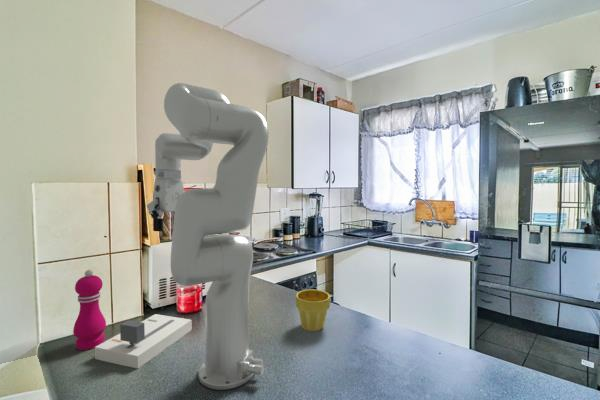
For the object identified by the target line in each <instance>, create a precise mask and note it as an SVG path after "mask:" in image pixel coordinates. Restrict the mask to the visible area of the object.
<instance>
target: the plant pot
mask: <svg viewBox="0 0 600 400" xmlns="http://www.w3.org/2000/svg"><path fill="white" fill-rule="evenodd" d="M330 305H331V295H330V293H329V292H327V291H325V290H321V289H304V290H299V291H298V292H297V293H296V295H295V307H296V308H297V310H298V314H299V321H300V324H301V327H302V329H303V328H304V329H303V330H305V331H307V330H309V331H308V332H318V331H317V330H319V331H321V330H322V329H323V328H324V325H325V321H326V316H327V312H328V310H329V309H330ZM320 329H321V330H320Z"/></svg>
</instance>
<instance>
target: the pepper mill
mask: <svg viewBox="0 0 600 400" xmlns="http://www.w3.org/2000/svg"><path fill="white" fill-rule="evenodd" d="M102 288H103V280H102V279H101V277H100V276H98V275H94V273H93V270H91V269H88V270H85V272H84V276H82V277H80V278H79V279H78V280H77V281H76V283H75V285H74V290H75V293H77V295H78V296H77V302H78V303H79V312H78V315H77V318H76V320H75V322H74V324H73V331H72V332H73V336H74V337H76V340H75V348H76V349H77V350H80V351H86V350H91V349H95V347H96V346H98V345H100V344H101V343H103V342H105V333H104V331H105V330H106V328H107V321H106V318H105V316H104V315H103V312H102V311H101V309H100V303H99V301H100V299H101V298H102V297H101V294H102V293H101V292H100V291H101V290H102Z"/></svg>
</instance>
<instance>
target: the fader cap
mask: <svg viewBox="0 0 600 400" xmlns="http://www.w3.org/2000/svg"><path fill="white" fill-rule="evenodd" d="M119 330H120V333H119V334H120V336H121V340H122V341H127V342H129V344H132V345H133V344H135V343H138V342H140V341H142V340H143V339H145V330H144V323H142V321H136V320H130V319H128V320H126V321H124V322H123V323H120V326H119Z"/></svg>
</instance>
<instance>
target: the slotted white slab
mask: <svg viewBox="0 0 600 400" xmlns="http://www.w3.org/2000/svg"><path fill="white" fill-rule="evenodd" d="M141 322H142V323H144V330H145V339H143V340H142V341H140V342H138V343H135V344H133V345H132V344H129V342H127V341H122V340H121V336H120V333H118V334H116V335H114V336H113V337H111V338H109V339H107V340H104V342H103V343H101V344H100V345H98V346H96V347H95V348H94V358H95V360H97V361H102V362H106V363H111V364H115V365H116V364H117V365H120V366H125V367H128V368H129V367H130V368H133V369H140V368H141V367H142V366H144V365H145V364H147V363H148V362H149V361H151V360H152V359H154V358H155V357H156V356H158V355H159V354H160V353H162V352H163V351H165V350H166V349H168V348H169V347H170V346H171V345H173V344H174V343H175V342H177V341H178V340H180V339H182V338H183V337H184V336H185V335H187V334H188V333H189V332H191V331H192V330H193V324H192V323H193V320H192V319H188V318H182V317H175V316H169V315H164V314H163V315H162V314H159V313H158V314H157V313H155V314H153V315H151V316H149V317H147V318H146V319H144V320H142V321H141Z"/></svg>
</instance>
